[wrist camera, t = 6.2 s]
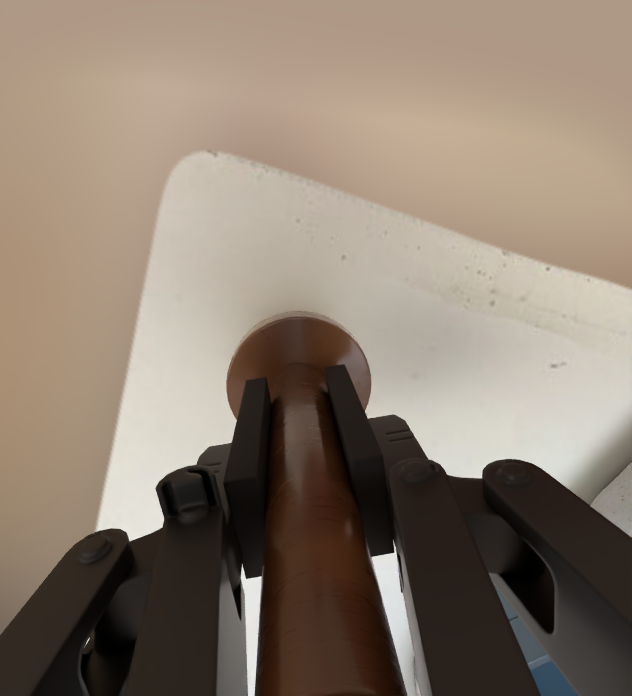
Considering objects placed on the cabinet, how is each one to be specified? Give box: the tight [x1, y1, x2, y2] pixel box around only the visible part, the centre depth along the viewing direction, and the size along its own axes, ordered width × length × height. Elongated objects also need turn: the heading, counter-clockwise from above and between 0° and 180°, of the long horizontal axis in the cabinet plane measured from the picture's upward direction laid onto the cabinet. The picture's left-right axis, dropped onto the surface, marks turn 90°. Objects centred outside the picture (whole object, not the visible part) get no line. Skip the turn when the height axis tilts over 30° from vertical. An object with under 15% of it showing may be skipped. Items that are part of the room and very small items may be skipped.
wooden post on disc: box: [226, 311, 407, 696], centre depth 13 cm, size 6×6×14 cm
